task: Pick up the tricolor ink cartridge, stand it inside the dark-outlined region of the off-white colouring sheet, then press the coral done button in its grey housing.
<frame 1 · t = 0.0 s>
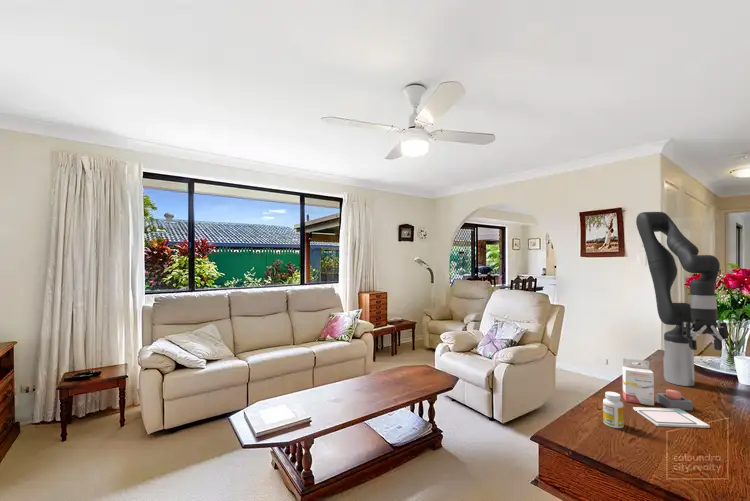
hand: (705, 349, 132), 17 cm above the table, tool pointing down, fingers open, 8 cm apart
button housing: (673, 405, 122), on the table
ink cartridge box: (638, 401, 126), on the table
sheet: (669, 417, 113), on the table
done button: (673, 395, 123), point 4 cm above the table, slide at 0.0 cm
supplement bottle: (613, 425, 110), on the table
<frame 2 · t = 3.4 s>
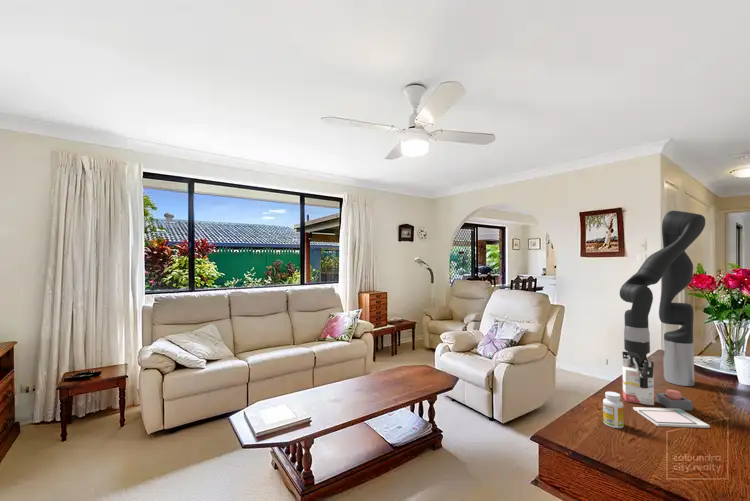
hand: (637, 384, 127), 6 cm above the table, tool pointing down, fingers closed on ink cartridge box, 6 cm apart
ink cartridge box: (638, 401, 126), on the table, touching gripper
everything else where it was.
when the fingers open (8 cm above the table, at t = 8.4 s): ink cartridge box stays where it is, resting on sheet.
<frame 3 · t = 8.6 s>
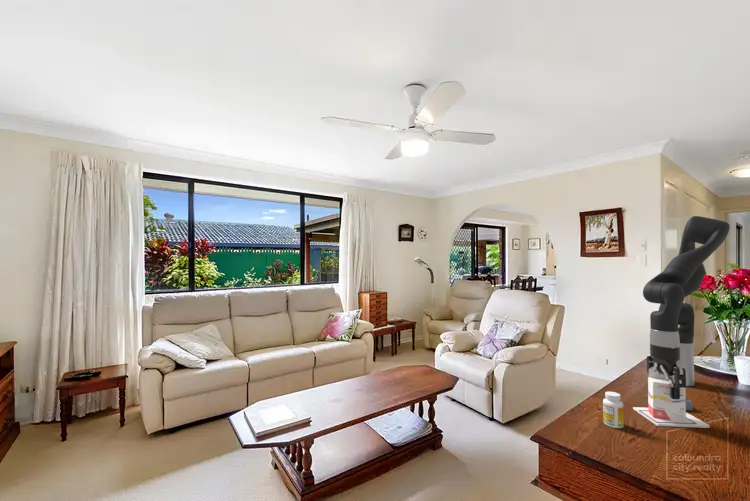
hand: (665, 393, 113), 8 cm above the table, tool pointing down, fingers open, 7 cm apart
ink cartridge box: (666, 417, 112), point 1 cm above the table, touching sheet
everything else where it was.
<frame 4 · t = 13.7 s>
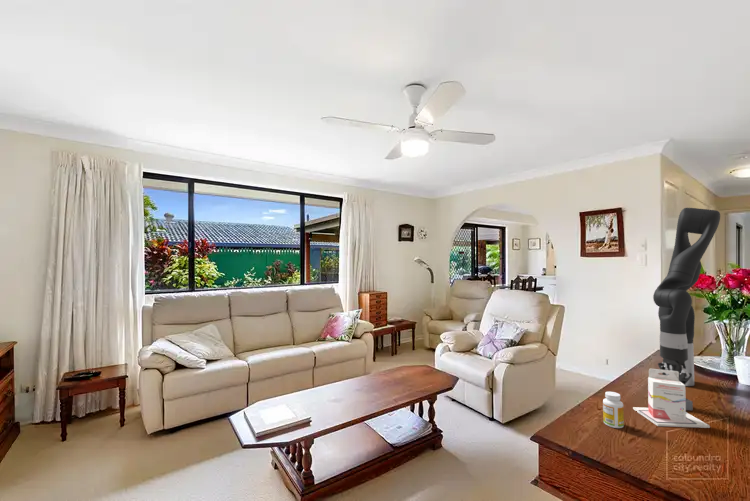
hand: (674, 394, 122), 4 cm above the table, tool pointing down, fingers closed
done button: (673, 398, 123), point 3 cm above the table, slide at 0.9 cm, touching gripper
everything else where it was.
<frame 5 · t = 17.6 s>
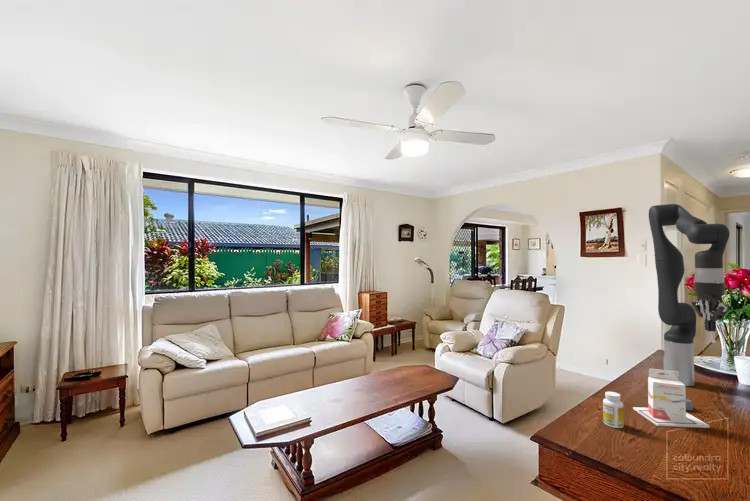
hand: (710, 330, 120), 27 cm above the table, tool pointing down, fingers closed
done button: (673, 399, 123), point 2 cm above the table, slide at 1.4 cm
everything else where it was.
at the end: ink cartridge box inside the target area (0.1 cm from its centre), point 0.6 cm above the table; ink cartridge box tilted 0°; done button slide at 1.4 cm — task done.
